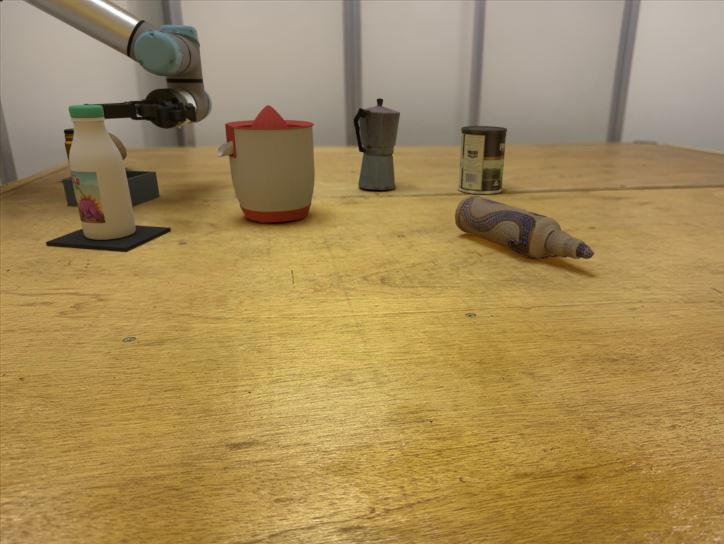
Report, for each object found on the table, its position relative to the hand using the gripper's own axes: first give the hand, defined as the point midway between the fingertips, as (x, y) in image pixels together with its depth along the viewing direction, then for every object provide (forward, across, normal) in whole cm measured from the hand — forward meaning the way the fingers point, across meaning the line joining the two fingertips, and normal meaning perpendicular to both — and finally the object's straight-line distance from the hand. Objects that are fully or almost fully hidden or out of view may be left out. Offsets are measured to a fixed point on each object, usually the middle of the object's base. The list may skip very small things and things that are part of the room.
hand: (119, 116), depth 92 cm
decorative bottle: (+13, -66, -18) cm, 69 cm away
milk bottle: (+10, 0, -18) cm, 20 cm away
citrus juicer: (-6, -23, -18) cm, 30 cm away
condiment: (-40, +32, -19) cm, 54 cm away
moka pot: (-34, -41, -18) cm, 56 cm away
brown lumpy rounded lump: (-53, +32, -19) cm, 64 cm away
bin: (-17, +12, -18) cm, 28 cm away
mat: (+10, 0, -18) cm, 21 cm away
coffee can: (-34, -66, -18) cm, 76 cm away
